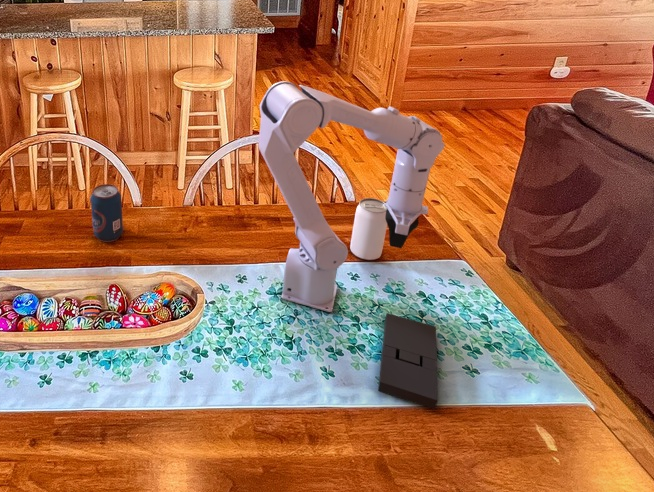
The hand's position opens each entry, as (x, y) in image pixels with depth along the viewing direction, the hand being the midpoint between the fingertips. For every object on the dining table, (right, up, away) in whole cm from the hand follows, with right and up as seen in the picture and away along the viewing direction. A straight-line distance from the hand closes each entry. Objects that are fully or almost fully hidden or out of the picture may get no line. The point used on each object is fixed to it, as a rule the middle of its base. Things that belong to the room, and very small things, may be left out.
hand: (395, 245), depth 98 cm
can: (-1, -4, +13) cm, 14 cm away
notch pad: (-6, -18, -17) cm, 25 cm away
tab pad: (-2, -15, -10) cm, 18 cm away
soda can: (-58, -2, +21) cm, 61 cm away
